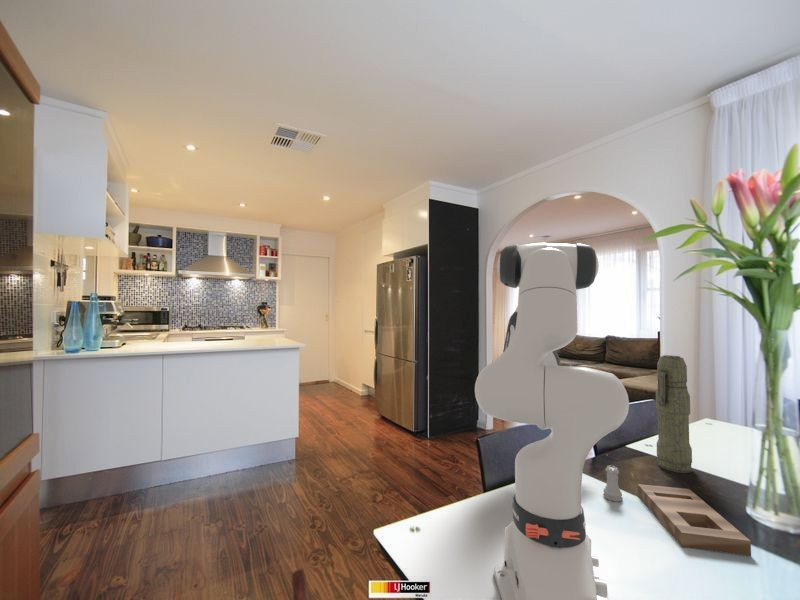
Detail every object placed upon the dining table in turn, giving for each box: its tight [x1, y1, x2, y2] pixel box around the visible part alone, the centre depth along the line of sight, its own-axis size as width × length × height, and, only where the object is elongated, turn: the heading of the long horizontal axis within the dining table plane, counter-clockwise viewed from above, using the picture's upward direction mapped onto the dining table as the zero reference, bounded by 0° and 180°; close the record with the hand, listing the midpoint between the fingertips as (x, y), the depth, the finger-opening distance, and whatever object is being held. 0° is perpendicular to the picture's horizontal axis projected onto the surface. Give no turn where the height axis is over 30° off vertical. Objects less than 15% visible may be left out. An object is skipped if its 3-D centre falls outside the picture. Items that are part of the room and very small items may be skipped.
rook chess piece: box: [602, 464, 623, 503], centre depth 95 cm, size 4×4×8 cm
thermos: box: [655, 354, 693, 474], centre depth 115 cm, size 9×12×35 cm
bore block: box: [637, 483, 752, 557], centre depth 84 cm, size 22×12×3 cm, turn 167°
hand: (577, 437), depth 105 cm, fingers open, 8 cm apart
